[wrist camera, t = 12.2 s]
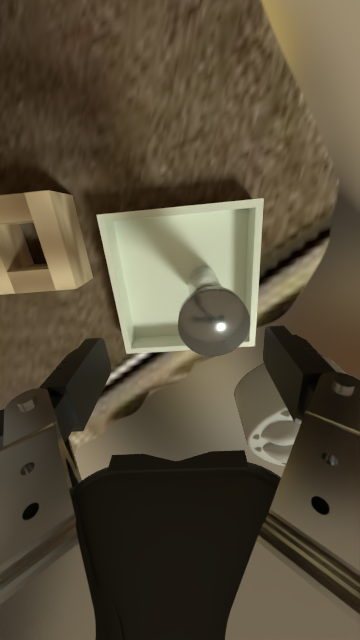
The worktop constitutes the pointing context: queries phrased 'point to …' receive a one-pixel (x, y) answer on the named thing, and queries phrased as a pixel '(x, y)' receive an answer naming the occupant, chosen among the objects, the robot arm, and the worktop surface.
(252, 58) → the worktop surface
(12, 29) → the worktop surface
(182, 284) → the parts tray
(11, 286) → the frame
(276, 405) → the lumpy-topped squat cylinder
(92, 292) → the worktop surface
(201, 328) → the pin
